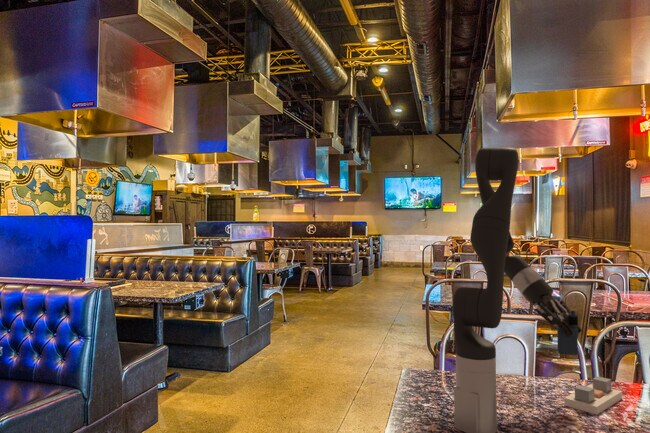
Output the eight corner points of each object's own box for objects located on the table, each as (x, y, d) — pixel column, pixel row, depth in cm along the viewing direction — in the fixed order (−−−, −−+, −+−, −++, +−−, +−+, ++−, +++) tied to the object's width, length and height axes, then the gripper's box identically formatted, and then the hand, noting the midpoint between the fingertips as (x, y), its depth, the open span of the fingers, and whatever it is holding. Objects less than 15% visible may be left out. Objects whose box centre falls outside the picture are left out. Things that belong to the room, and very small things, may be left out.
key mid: (598, 404, 119) (598, 394, 120) (584, 400, 122) (584, 390, 122) (603, 401, 122) (603, 391, 122) (589, 397, 124) (589, 387, 124)
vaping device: (579, 355, 122) (579, 312, 122) (559, 354, 123) (558, 311, 123) (576, 353, 124) (576, 310, 125) (556, 351, 126) (556, 309, 126)
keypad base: (596, 414, 113) (596, 406, 113) (564, 405, 119) (564, 397, 119) (622, 398, 124) (622, 391, 124) (591, 390, 131) (591, 383, 131)
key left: (589, 402, 116) (588, 391, 116) (574, 398, 118) (574, 387, 119) (594, 399, 118) (594, 388, 118) (580, 395, 121) (580, 385, 121)
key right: (606, 392, 123) (606, 381, 123) (592, 388, 126) (592, 378, 126) (611, 389, 125) (611, 379, 126) (597, 386, 128) (597, 376, 128)
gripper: (528, 279, 126) (573, 329, 116) (552, 276, 135) (596, 323, 125) (511, 295, 130) (553, 345, 120) (535, 292, 139) (576, 338, 129)
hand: (575, 333), depth 122 cm, fingers closed on vaping device, 4 cm apart
